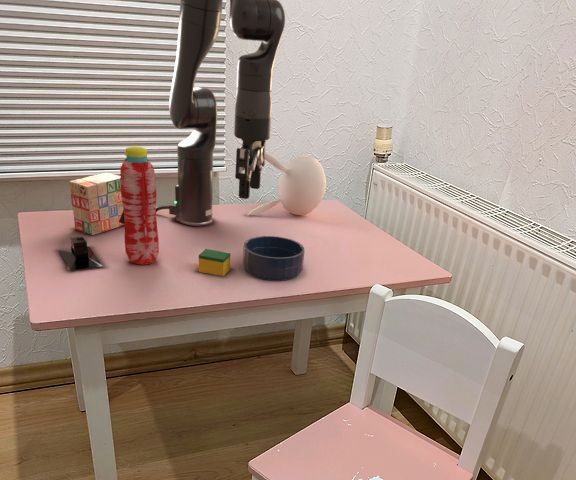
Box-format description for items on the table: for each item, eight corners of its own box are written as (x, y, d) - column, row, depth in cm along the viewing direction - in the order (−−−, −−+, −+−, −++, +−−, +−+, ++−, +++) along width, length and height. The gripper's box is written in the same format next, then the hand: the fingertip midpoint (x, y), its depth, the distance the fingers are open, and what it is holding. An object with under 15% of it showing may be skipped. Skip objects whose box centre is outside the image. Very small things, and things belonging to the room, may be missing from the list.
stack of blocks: (135, 211, 162) (132, 166, 156) (151, 216, 160) (149, 171, 153) (74, 229, 147) (68, 180, 140) (92, 235, 144) (86, 185, 138)
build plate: (103, 268, 129) (101, 248, 126) (69, 272, 126) (66, 251, 123) (89, 247, 138) (87, 228, 135) (57, 251, 135) (54, 231, 132)
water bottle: (117, 250, 138) (107, 139, 124) (150, 247, 141) (144, 139, 127) (130, 270, 129) (121, 153, 115) (165, 266, 133) (160, 152, 119)
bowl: (234, 274, 132) (235, 251, 129) (253, 253, 144) (254, 232, 141) (293, 285, 130) (296, 262, 127) (308, 263, 141) (310, 242, 138)
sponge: (198, 271, 132) (198, 255, 129) (205, 264, 135) (205, 248, 133) (223, 276, 131) (223, 259, 128) (229, 269, 134) (230, 253, 132)
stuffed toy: (329, 154, 172) (250, 140, 163) (347, 169, 162) (263, 156, 153) (313, 214, 183) (238, 204, 173) (328, 232, 173) (249, 223, 163)
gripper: (245, 106, 125) (242, 183, 134) (224, 116, 113) (223, 199, 122) (279, 111, 124) (273, 187, 133) (261, 120, 112) (257, 204, 121)
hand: (249, 193), depth 127 cm, fingers open, 8 cm apart
